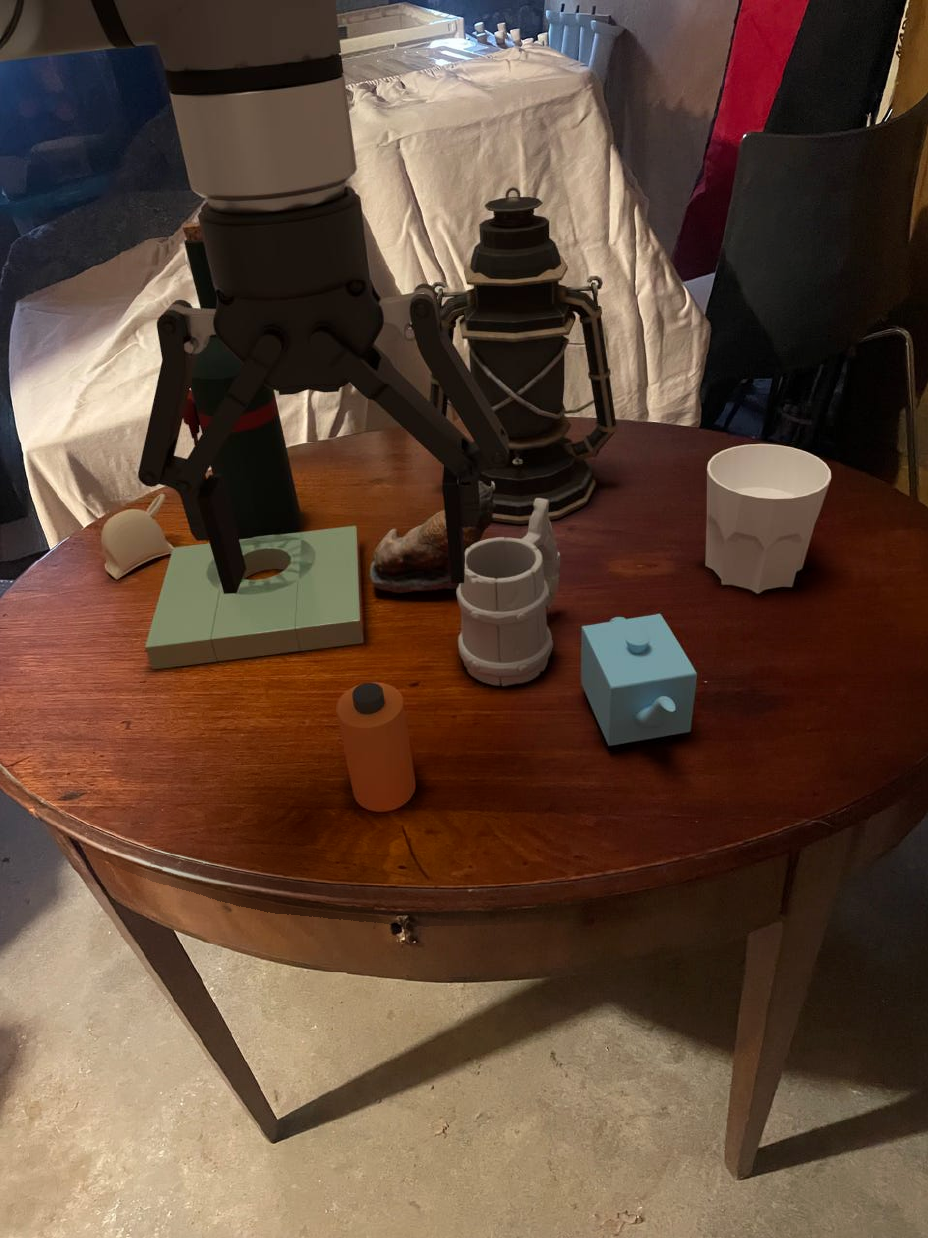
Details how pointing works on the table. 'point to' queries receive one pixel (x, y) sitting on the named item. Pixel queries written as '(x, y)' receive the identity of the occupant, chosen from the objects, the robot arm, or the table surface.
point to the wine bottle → (240, 426)
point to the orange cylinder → (376, 746)
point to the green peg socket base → (260, 600)
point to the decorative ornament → (133, 539)
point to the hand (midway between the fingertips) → (346, 576)
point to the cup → (762, 513)
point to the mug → (509, 603)
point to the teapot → (637, 679)
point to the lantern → (529, 359)
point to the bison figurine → (425, 552)
